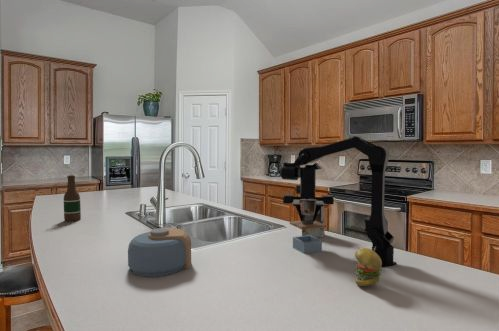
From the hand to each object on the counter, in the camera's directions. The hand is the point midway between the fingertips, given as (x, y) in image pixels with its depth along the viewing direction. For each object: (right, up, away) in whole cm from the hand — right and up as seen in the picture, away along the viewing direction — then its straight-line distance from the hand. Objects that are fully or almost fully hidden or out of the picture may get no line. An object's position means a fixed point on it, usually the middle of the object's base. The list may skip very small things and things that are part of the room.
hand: (307, 221), depth 123 cm
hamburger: (+11, -13, -32) cm, 36 cm away
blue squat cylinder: (-52, -12, -17) cm, 56 cm away
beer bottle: (-117, -8, +48) cm, 126 cm away
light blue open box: (0, -11, +1) cm, 11 cm away
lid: (0, -2, 0) cm, 2 cm away
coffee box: (+6, -10, +20) cm, 23 cm away
